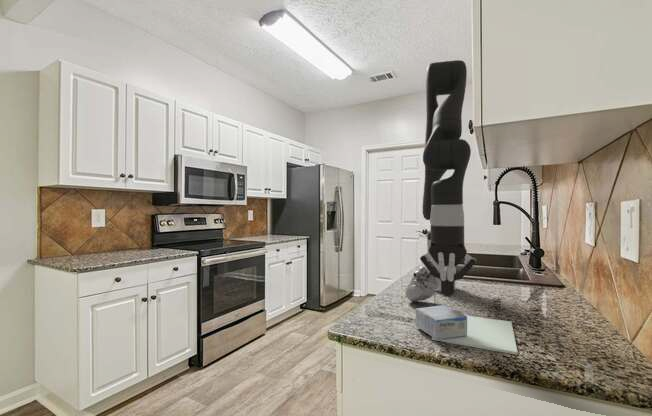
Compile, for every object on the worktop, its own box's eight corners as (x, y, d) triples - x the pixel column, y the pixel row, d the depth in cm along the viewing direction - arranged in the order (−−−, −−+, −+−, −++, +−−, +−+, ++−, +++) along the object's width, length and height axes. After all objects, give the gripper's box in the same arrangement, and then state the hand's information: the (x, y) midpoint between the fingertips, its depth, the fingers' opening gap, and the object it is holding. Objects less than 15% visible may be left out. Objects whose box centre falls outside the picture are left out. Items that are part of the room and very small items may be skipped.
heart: (445, 301, 94) (438, 261, 95) (440, 309, 86) (431, 266, 87) (412, 302, 99) (405, 264, 100) (404, 310, 91) (396, 269, 92)
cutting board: (442, 314, 84) (442, 312, 84) (511, 323, 77) (511, 321, 77) (431, 339, 68) (431, 337, 68) (517, 354, 61) (517, 352, 61)
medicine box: (415, 325, 75) (436, 341, 66) (414, 307, 75) (436, 320, 66) (443, 322, 77) (468, 336, 68) (443, 304, 77) (468, 316, 68)
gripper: (478, 223, 75) (479, 295, 75) (421, 222, 81) (422, 289, 81) (477, 225, 68) (478, 304, 68) (415, 224, 74) (416, 296, 75)
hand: (447, 295), depth 75 cm, fingers closed
